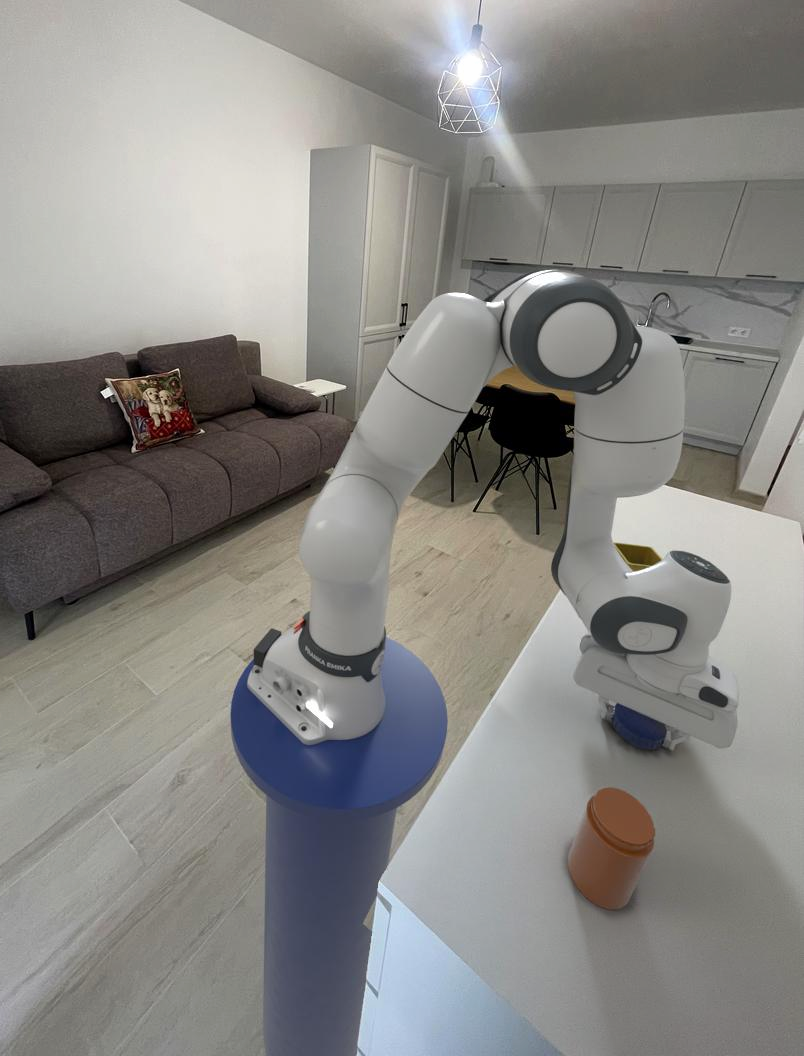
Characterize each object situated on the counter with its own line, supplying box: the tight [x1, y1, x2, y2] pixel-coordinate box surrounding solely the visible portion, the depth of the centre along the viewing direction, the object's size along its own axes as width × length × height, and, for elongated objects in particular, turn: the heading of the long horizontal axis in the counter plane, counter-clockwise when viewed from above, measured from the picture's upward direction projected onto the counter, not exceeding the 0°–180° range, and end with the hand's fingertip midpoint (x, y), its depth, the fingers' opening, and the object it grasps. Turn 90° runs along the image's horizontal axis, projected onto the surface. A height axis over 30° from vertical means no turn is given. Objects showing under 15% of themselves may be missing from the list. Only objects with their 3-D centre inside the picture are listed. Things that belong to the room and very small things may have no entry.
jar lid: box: [611, 703, 668, 750], centre depth 74 cm, size 7×7×2 cm
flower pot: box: [613, 541, 664, 572], centre depth 108 cm, size 9×9×9 cm
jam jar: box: [567, 786, 656, 911], centre depth 55 cm, size 7×7×10 cm
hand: (636, 730), depth 74 cm, fingers closed on jar lid, 7 cm apart
